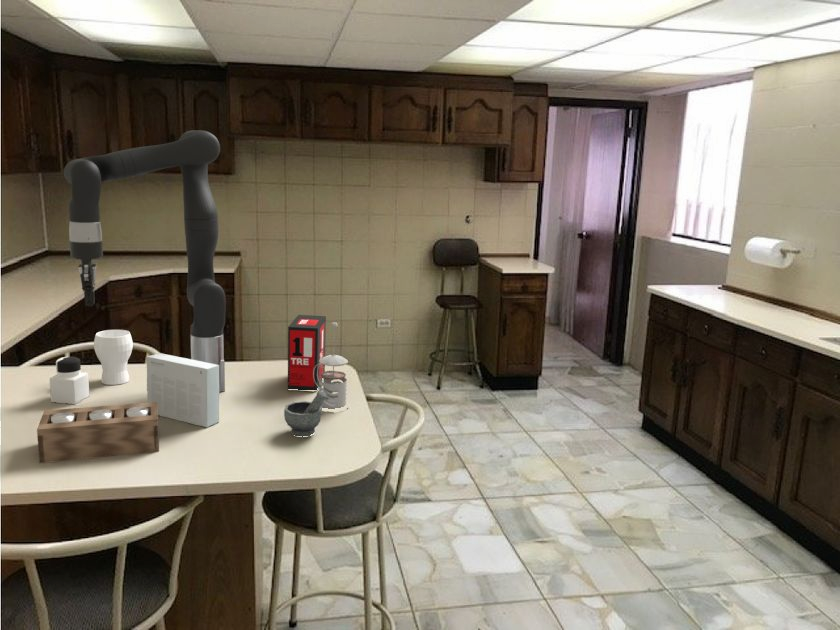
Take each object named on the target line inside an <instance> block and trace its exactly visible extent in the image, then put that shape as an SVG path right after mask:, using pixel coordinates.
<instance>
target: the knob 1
mask: <svg viewBox="0 0 840 630" xmlns="http://www.w3.org/2000/svg"><path fill="white" fill-rule="evenodd" d="M63 422H75V420H74V414H73V413H70V412H63V413H57V414H54V415H52V416H51V423H63Z"/></svg>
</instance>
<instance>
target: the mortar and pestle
mask: <svg viewBox="0 0 840 630" xmlns="http://www.w3.org/2000/svg"><path fill="white" fill-rule="evenodd" d="M326 398H327V394H326V393H325V392H323V391H319V390H317V392H316V396H315V397H314V398H313V400H311V401H306V400H301V401H294V402H291V403H288V404H286V405H284V406H285V407H284V408H283V409H284V410H283V415H284V421H285V423H286V424H287V426H289V428H291V432H290V434H291V433H292V434H293V435H295V436H302V437H303V436H310V435H311V434H313V433H314V432H315V433H316V429H315V428H317V426H319V424H320V422H321V420H322V419H321V418H322V413H323V412H322V406H321V405H322V403H323V401H324V400H325V399H326ZM293 435H292V436H293ZM295 436H294V437H295ZM310 437H311V436H310Z"/></svg>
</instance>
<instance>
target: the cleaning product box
mask: <svg viewBox="0 0 840 630" xmlns="http://www.w3.org/2000/svg"><path fill="white" fill-rule="evenodd" d="M326 321H327V316H325V315H311V314H297V316H296V317H295V318H294V319H293V320H292V322H290V324H289V325H288V327H287V390H288V389H298V390H317V388H318V386H319V381H318V378H319V379H320V378H322V377H321V373H322V372H325V371H326V368H325V367H326V366H325V367H324V365H323V364H321V365H322V367H324V368H321V365H320V364H319V363H320V362H319V360H320V359H321V358H323V357H325V356H326V332H327V330H326V328H327V327H326V323H327V322H326ZM317 364H319V365H320V366H319V365H317ZM316 365H317V366H316ZM315 366H316V368H315ZM318 366H319V368H318ZM314 368H315V370H314ZM317 368H318V377H317ZM313 370H314V378H313ZM314 379H315V382H316V383H317V385H318V386H317V385H316V383H315V382H314ZM318 389H319V388H318ZM317 391H318V390H317Z"/></svg>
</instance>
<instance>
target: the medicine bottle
mask: <svg viewBox="0 0 840 630" xmlns="http://www.w3.org/2000/svg"><path fill="white" fill-rule="evenodd" d="M81 365H82V364H81V359H80V358H79V357H76V356H64V357H60V358H58V359H57V360H56V361H55V368H56V369H55V370H56V374H55V375H54V376H51V377H50V378H49V389H50V402H51V403H54V402H56V404H57V403H58V404H65V403H68V404H67V405H76V404H79V403H80V402H81V401H83V400H85V399H87V398H89V397H90V386H89V385H90V384H89V373H88V372H85V371H84V372H83V371H82V368H81V367H82V366H81Z"/></svg>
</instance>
